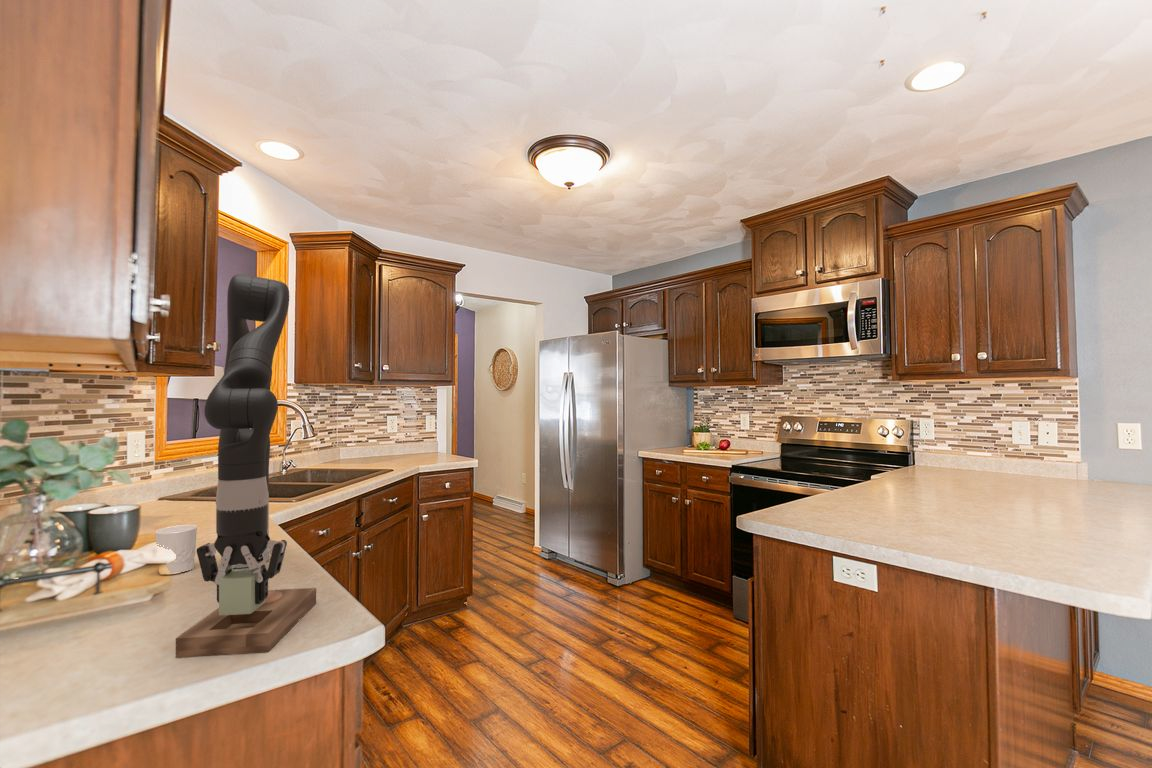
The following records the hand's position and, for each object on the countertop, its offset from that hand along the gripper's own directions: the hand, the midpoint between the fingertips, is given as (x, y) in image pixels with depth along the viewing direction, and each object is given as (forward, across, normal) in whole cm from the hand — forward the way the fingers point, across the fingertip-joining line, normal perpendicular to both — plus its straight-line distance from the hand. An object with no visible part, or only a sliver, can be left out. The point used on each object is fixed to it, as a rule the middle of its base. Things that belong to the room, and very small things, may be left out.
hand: (242, 602), depth 90 cm
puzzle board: (+6, 0, -4) cm, 7 cm away
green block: (+1, 0, 0) cm, 1 cm away
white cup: (+6, +34, -39) cm, 52 cm away
